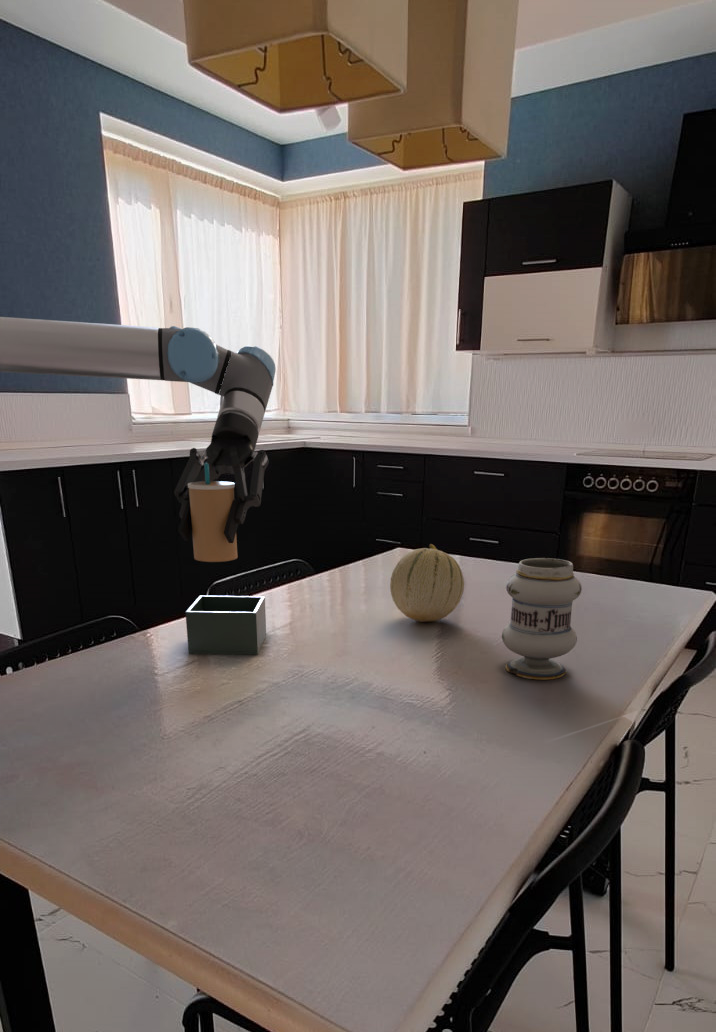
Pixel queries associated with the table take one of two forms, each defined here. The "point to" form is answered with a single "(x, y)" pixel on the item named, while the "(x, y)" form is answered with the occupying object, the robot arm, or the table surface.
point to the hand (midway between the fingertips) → (205, 536)
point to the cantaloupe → (427, 584)
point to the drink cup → (211, 519)
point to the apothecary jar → (541, 617)
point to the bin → (226, 625)
